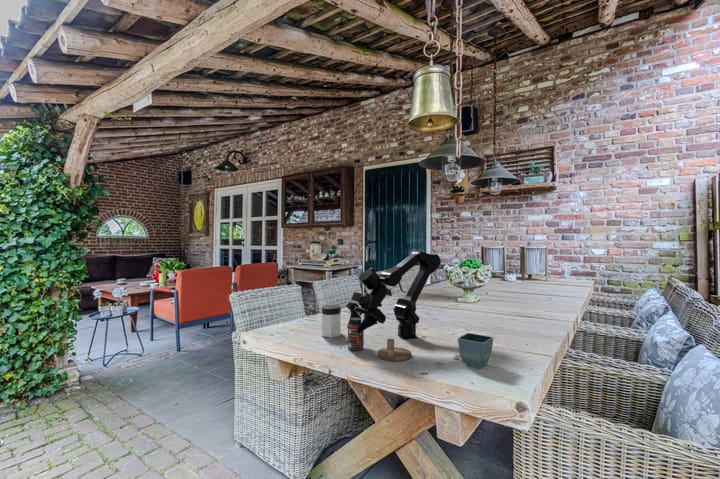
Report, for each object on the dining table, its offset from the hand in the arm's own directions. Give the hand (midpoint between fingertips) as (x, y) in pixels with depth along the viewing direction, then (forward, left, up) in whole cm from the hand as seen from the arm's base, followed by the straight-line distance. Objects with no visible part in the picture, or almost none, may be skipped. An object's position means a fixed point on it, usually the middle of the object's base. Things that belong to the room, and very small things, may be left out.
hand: (352, 330), depth 128 cm
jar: (+4, -21, -7) cm, 23 cm away
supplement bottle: (-1, 0, -7) cm, 7 cm away
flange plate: (-12, +11, -7) cm, 18 cm away
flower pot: (-34, +27, -7) cm, 44 cm away
